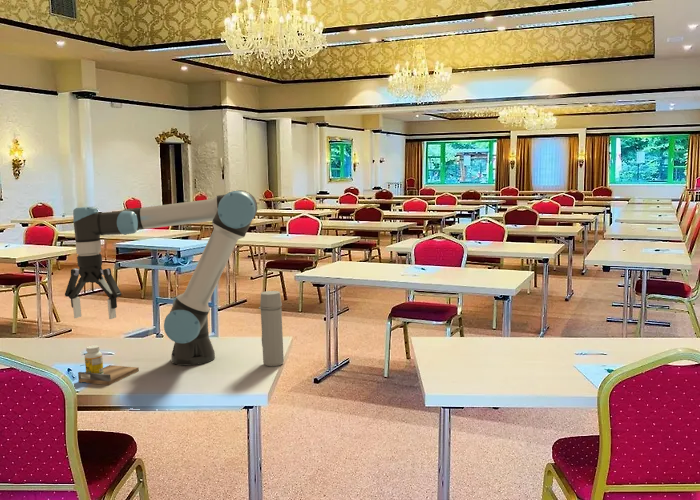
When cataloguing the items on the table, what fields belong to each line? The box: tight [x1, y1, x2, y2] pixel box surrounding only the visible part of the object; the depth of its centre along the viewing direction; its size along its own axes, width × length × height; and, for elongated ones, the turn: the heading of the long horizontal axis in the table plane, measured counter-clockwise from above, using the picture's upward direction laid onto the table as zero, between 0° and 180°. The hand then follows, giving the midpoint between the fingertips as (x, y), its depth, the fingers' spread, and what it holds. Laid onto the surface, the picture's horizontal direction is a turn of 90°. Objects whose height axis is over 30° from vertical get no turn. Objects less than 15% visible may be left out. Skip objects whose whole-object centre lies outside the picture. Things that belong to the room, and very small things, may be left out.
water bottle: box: [258, 290, 285, 367], centre depth 225 cm, size 9×8×25 cm
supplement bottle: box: [84, 344, 104, 374], centre depth 214 cm, size 5×5×10 cm
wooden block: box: [77, 364, 139, 386], centre depth 217 cm, size 12×15×3 cm
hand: (95, 317), depth 216 cm, fingers open, 13 cm apart
